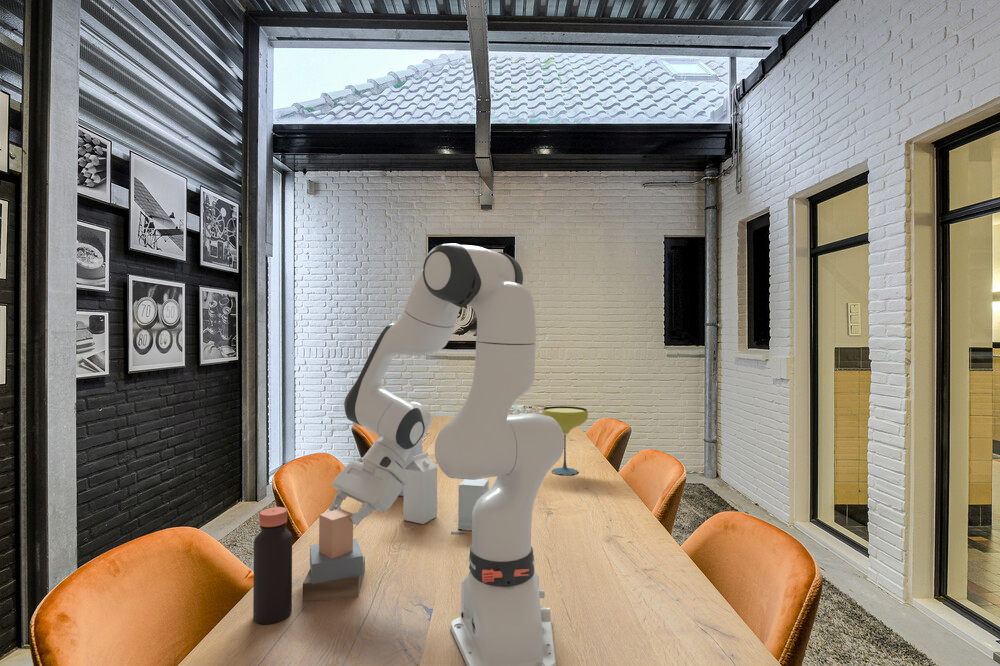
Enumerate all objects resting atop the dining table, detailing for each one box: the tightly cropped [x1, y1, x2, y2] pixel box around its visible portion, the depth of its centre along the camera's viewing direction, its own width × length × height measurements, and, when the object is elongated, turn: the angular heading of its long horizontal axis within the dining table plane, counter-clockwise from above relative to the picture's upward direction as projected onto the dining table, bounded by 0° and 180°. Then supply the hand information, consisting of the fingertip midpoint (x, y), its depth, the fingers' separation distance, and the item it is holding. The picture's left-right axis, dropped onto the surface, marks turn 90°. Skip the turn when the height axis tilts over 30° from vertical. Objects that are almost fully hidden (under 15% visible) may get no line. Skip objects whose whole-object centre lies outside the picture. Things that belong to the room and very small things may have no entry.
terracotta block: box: [318, 508, 354, 559], centre depth 106 cm, size 5×5×8 cm
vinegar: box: [252, 506, 293, 625], centre depth 95 cm, size 7×7×20 cm
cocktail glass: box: [541, 405, 589, 476], centre depth 197 cm, size 18×18×25 cm
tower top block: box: [309, 537, 364, 584], centre depth 107 cm, size 10×10×4 cm
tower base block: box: [302, 556, 366, 602], centre depth 106 cm, size 11×11×4 cm
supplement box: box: [457, 478, 490, 531], centre depth 140 cm, size 7×7×13 cm
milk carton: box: [402, 451, 438, 525], centre depth 146 cm, size 7×7×19 cm
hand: (342, 517), depth 108 cm, fingers open, 8 cm apart
